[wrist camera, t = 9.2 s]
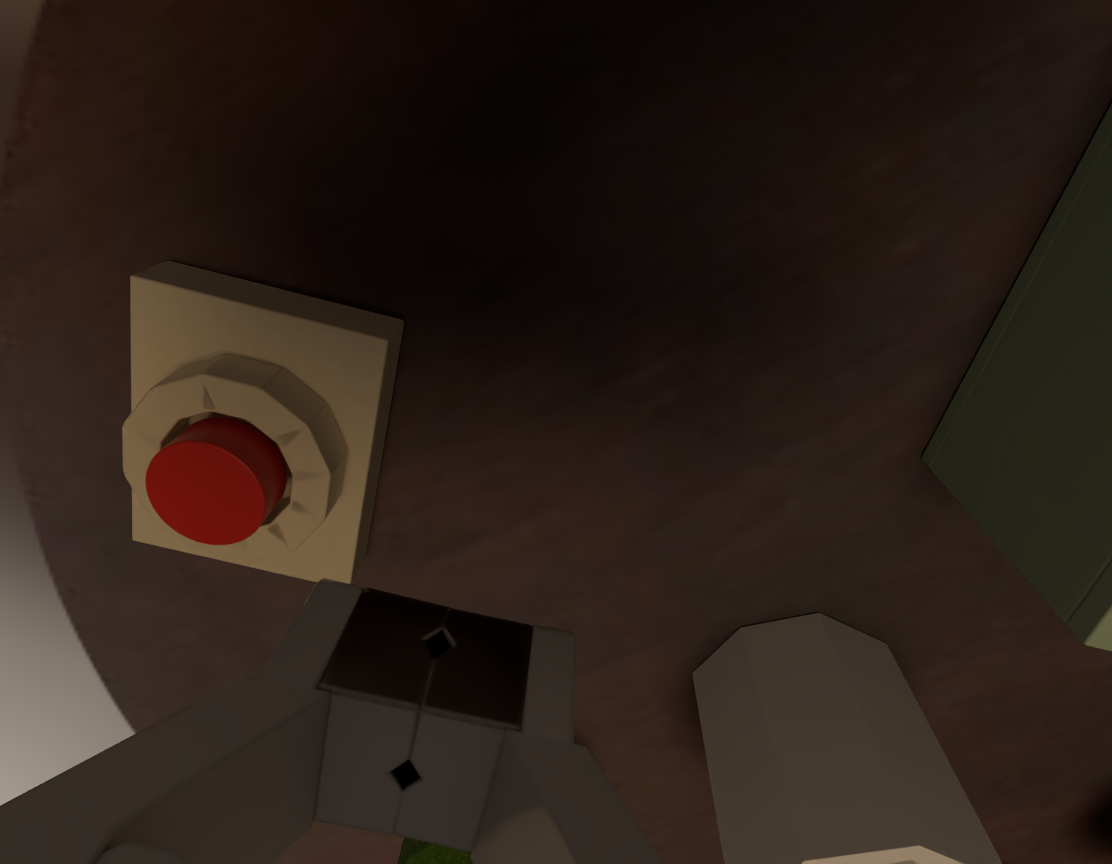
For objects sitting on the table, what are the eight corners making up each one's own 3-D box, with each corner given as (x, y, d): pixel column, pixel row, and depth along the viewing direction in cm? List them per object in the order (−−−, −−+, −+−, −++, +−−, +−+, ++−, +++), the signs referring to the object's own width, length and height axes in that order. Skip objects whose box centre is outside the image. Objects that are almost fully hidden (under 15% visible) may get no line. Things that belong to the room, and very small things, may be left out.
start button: (176, 404, 22) (144, 428, 21) (292, 432, 22) (269, 458, 21) (173, 501, 24) (144, 530, 22) (282, 526, 24) (261, 557, 22)
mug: (654, 669, 31) (679, 907, 22) (843, 577, 28) (957, 803, 19) (789, 830, 35) (856, 1087, 26) (965, 762, 32) (1106, 1020, 23)
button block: (167, 259, 24) (92, 289, 20) (405, 319, 24) (372, 360, 21) (163, 509, 28) (101, 570, 25) (366, 555, 29) (333, 623, 25)
